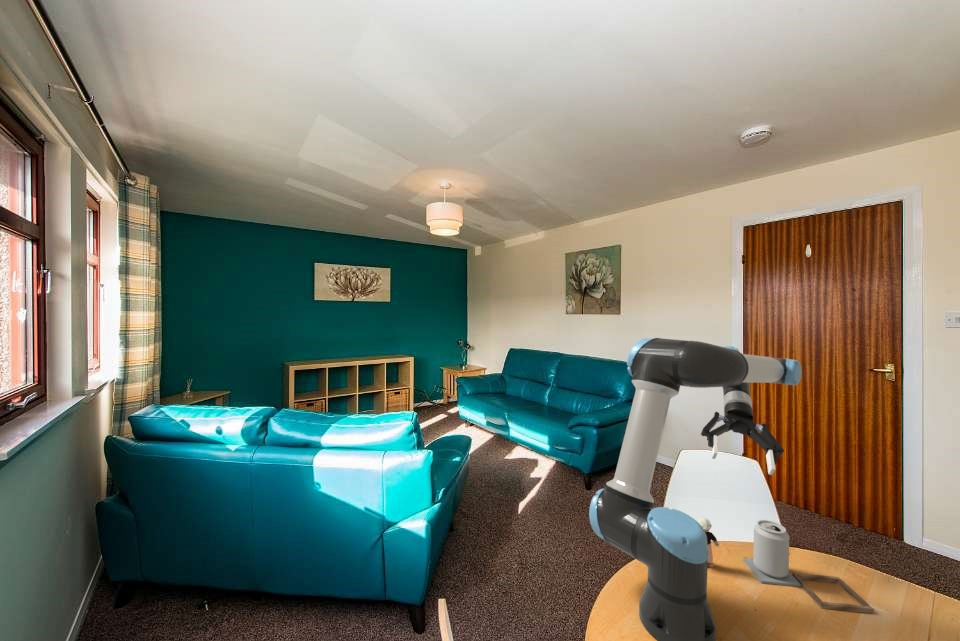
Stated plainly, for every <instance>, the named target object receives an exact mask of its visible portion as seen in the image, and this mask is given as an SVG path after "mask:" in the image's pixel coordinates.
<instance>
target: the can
mask: <svg viewBox="0 0 960 641" xmlns="http://www.w3.org/2000/svg"><path fill="white" fill-rule="evenodd" d="M752 557H753V558H752V559H753V563H754V565H755V566H756V567H757V568H758V569H759V570H760V571H761V572H762V573H764V574H766V575H768V576H771V577H774V578H783V577H785V576H787V575H788V574H789V572H790V569H789V568H790V567H789V566H790V565H789V564H790V535H789V534H788V532H787V529H786V527H785V526H783V525H782V524H781V523H778V522H776V521H772V520H767V519H761V520H758V521H756V524H755V525H754V526H753V556H752Z"/></svg>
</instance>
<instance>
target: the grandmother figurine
mask: <svg viewBox="0 0 960 641" xmlns="http://www.w3.org/2000/svg"><path fill="white" fill-rule="evenodd" d="M697 522H698V523H699V524H700V525H701V526H702V528H703V530H704V532H705V533H706V536H707V546H708V564H707V567H709V568H714V567H715V566H714V558H713V556H714V555H713V550H712V548H713V547H712V543H714V546H715V547H717V548H718V547H719V546H720V544H719V542H718V539H717V538H716V536H715V535H714V534H713V533H712V532H711V531H710V530H711V529H712V524H711V521H710V520H709V519H708V518H707V517H700V518H698V520H697Z"/></svg>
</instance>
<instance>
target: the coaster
mask: <svg viewBox="0 0 960 641" xmlns="http://www.w3.org/2000/svg"><path fill="white" fill-rule="evenodd" d="M742 560H743V562H744V563H745V564H746V565H747V568H748V569H749V570H750V571H751V572H752V573H753V575H754V576H755V577H756V579H757V580H758V581H759V582H760V583H761V584H765V585H766V584H767V585H779V586H786V587H787V586H788V587H789V586H790V587H797V588H798V587H799V588H800V587H801V584H800V583H799V582H798V581H797V580H796V579H795V577H794V576H793V575H792V573H791V572H790V571H789V574H788V575H787V576H785V577H783V578H774V577H771V576H768V575H766V574H764V573H762V572H761V571H760V570H759V569H758V568H757V567H756V566H755V565H754V563H753V558H748V557H743V559H742ZM801 588H802V587H801Z"/></svg>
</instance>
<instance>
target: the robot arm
mask: <svg viewBox="0 0 960 641" xmlns="http://www.w3.org/2000/svg"><path fill="white" fill-rule="evenodd" d="M626 360H627V361H626V365H627V368H626V369H627V371H628V373H629V374H628V375H630V376H631V377H632V379H631V383H632V385H633V386H634V388H635V392H634V396H633V399H632V405H631V407H630V408H631V409H630V412H629V417H628V419H627V420H628V421H627V424H626V428H625V433H624V436H623V441H622V444H621V448H620V452H619V456H618V461H617V464H616V469H615V473H614V476H613V478H612V479H611V480H609V481H607V482H606V483H605V487H604V488H600V489H598V490H597V491H596V492H595V495H593V496H592V498H591V501H590V505H589V510H588V511H589V512H588V516H589V517H588V518H589V523H590V526H591V528H592V530H593V532H594V533H595V535H597V536H598V537H599V538H600V539H602V540H604V541H605V543H607V544H609V545H610V546H613V547H615V548H616V549H618V550H619V551H622V552H623V553H625V554H627V555H628V556H630V557H632V558H633V559H635V560H637V561H638V562H640V563H642V564H644V565H645V566H647V581H646V584H645V586H644V589H643V591H642V594H641V596H640V598H639V604H638V616H639V620H640V622H641V624H642V625H643V627H644V629H645V630H646V631H647V633H649V634H650V635H651V636H652V637H653V638H654V639H656V640H657V641H716V640H717V637H716V636H717V634H716V633H717V629H716V627H717V626H716V621H715V619H714V616H713V613H712V609H711V606H710V603H709V600H708V597H707V596H708V594H707V591H708V565H707V564H708V546H707V536H706V533H705V532H704V530H703V528H702V526H701V525H700V524H699V523H698V520H696V519H695V518H693V517H692V516H690V515H689V514H687V513H685V512H683V511H680V510H678V509H676V508H671V509H670V508H669V507H665V506H658V507H654V503H655V499H654V498H653V497H652V496H653V495H652V494H651V492H650V490H651V486H652V482H653V478H654V473H655V469H656V464H657V458H658V455H659V451H660V446H661V442H662V437H663V433H664V429H665V424H666V421H667V420H666V419H667V416H668V412H669V411H668V410H669V407H670V402H671V399H672V398H673V397H676V396H677V395H679V392H680V388H681V387H686V388H687V387H689V388H696V389H697V388H701V389H703V388H706V389H707V388H722V392H723V410H724V411H723V412H724V414H723V415H721V414H720V412H718V411H715V412H714V414H713V417H712V418H711V419H710V420H709V421H708V422H707V424H706V425H705V426H704V427H702V431H701V433H700V435H701V436H702V437H706V440H707V446H708V447H710V448H711V459H713V460H716V458H717V456H718V452H719V451H718V437H719V436H721V435H723V434H725V433H728V432H729V431H732V432H733V433H737V434H740V435H744V436H745V435H746V436H747V437H748V438H749V439H752V440H753V441H754V442H755V443H756V444H757V445H758V446H759V447H760V448H761V449H763V451H765V452H766V455H765V458H766V460H765V461H766V464H767V466H766V467H767V473H768V475H769V476H773V474H774V473H775V471H776V465H777V463H778V457H781V456H782V455H783V454H784V451H785V449H784V448H783V446H781V443H779V441H778V440H777V439H776V438H775V437H774V435H773V434H772V433H771V431H770V430H769V428H768V425H767V424H766V423H764V422H763V423H761V424H757V423H756V422H755V420H754V410H753V403H752V402H753V401H752V396H751V383H753V384H754V383H756V384H757V383H758V384H759V383H761V384H763V383H766V384H779V385H785V386H786V385H788V386H797V385H798V384H799V383H800V382H801V379H802V373H803V371H802V370H803V368H802V365H801V362H800V361H799V360H796V359H792V358H791V359H790V358H786V357H785V358H783V357H782V358H780V357H773V356H772V357H771V356H762V355H754V354H748V353H747V354H746V353H742V352H740V350H739V349H738V348H737V347H734V346H731V345H725V346H721V345H720V346H719V345H715V344H713V343H708V342H703V341H699V340H697V341H696V340H683V339H681V340H680V339H671V338H662V337H661V338H660V337H653V338H652V337H651V338H647V337H646V338H641V339H640V340H638V341H637V342H635V343H634V344H633V345H632V347H631V349H629V352H628V355H627V359H626ZM721 421H722V422H723V424H721V425H720V426H718V427H716V428H714V427H715V426H716V424H717V423H719V422H721ZM713 428H714V429H713Z"/></svg>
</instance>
